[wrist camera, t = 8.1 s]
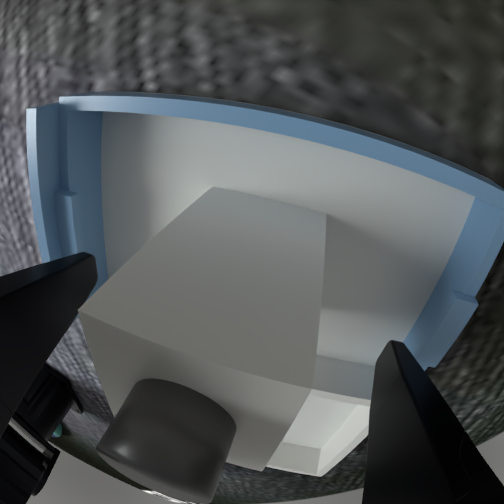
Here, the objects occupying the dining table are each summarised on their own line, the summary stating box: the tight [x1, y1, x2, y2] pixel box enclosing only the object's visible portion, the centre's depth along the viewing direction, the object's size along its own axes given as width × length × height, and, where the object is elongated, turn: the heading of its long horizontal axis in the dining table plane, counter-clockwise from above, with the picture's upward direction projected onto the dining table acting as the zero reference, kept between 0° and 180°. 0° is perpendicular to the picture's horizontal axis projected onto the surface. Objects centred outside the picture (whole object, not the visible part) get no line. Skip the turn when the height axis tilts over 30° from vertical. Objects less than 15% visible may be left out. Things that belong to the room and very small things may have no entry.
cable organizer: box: [27, 91, 504, 477], centre depth 13 cm, size 20×16×4 cm
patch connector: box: [78, 186, 327, 504], centre depth 8 cm, size 4×4×9 cm
